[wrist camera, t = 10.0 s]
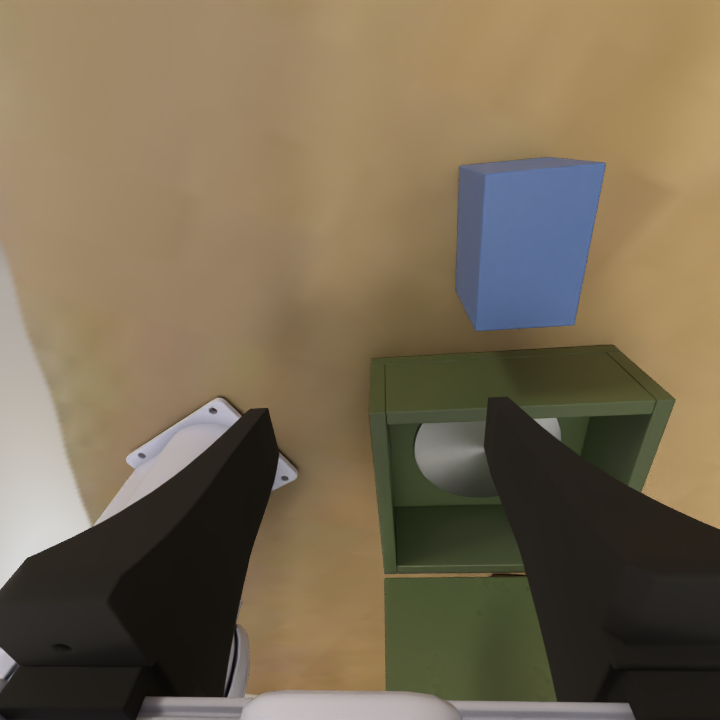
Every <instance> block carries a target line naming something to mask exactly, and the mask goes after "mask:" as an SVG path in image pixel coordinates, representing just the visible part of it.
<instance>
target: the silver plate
mask: <svg viewBox="0 0 720 720" xmlns="http://www.w3.org/2000/svg"><path fill="white" fill-rule="evenodd" d="M534 420H535V421H536V422H537V423H538V424H540V425H541V426H542V427H543V428H544V429H546V430H547V431H548V432H549V433H551V434H552V435H553V436H554V437H556V438H557V439H558V440H559V441H561V428H560V424H559V422H558V419H557V418H543V419H534ZM485 426H486V421H472V422H448V423H424V424H420V425H419V427H418V430H417V432H416V435H415V439H414V454H415V459H416V463H417V465H418V467H419V469H420V471H421V472H422V474H423V475H424V476H425V477H426V478H427V479H428V480H429V481H430V482H431V483H432V484H434V485H435V486H437V487H438V488H440V489H442V490H444V491H446V492H449V493H452V494H455V495H459V496H464V497H472V498H485V497H494V496H498V493H497V490H496V488H495V485H494V482H493V480H492V477H491V474H490V470H489V466H488V463H487V458H486V454H485V450H484V438H485Z"/></svg>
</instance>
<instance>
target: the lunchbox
mask: <svg viewBox="0 0 720 720" xmlns="http://www.w3.org/2000/svg"><path fill="white" fill-rule="evenodd" d="M488 397H509V398H510V399H511V400H512V401H513V402H515V403H516V404H517V405H518V406H519V407H520V408H521V409H522V410H524V411H525V412H526V413H527V414H528V415H529V416H530V417H532V418H533V419H543V418H557V419H558V422H559V424H560V428H561V442H562V443H563V444H565V445H566V446H567V447H569V448H570V449H571V450H573V451H574V452H576V453H577V454H578V455H580V456H581V457H582V458H584V459H585V460H587V461H588V462H590V463H591V464H593V465H594V466H596V467H598V468H599V469H601V470H602V471H604V472H606V473H607V474H609V475H610V476H612V477H614V478H615V479H617V480H619V481H620V482H622V483H624V484H626V485H627V486H629V487H631V488H633V489H635V490H637V491H639V492H640V493H641V491H642V489H643V486H644V483H645V481H646V478H647V475H648V473H649V470H650V467H651V465H652V462H653V459H654V457H655V454H656V451H657V449H658V446H659V443H660V441H661V438H662V435H663V433H664V430H665V427H666V425H667V422H668V419H669V417H670V414H671V411H672V409H673V406H674V403H675V398H673V397H672V396H671V395H670V394H669V393H668V392H667V391H665V390H664V389H663V388H662V387H661V386H660V385H659V384H657V383H656V382H655V381H654V380H653V379H652V378H651V377H649V376H648V375H647V374H646V373H645V372H644V371H643V370H642V369H640V368H639V367H638V366H637V365H636V364H635V363H634V362H632V361H631V360H630V359H629V358H628V357H627V356H626V355H624V354H623V353H622V352H621V351H620V350H619V349H618V348H616V347H615V346H614V345H603V346H586V347H568V348H550V349H532V350H514V351H497V352H479V353H461V354H443V355H425V356H408V357H390V358H372V359H371V372H370V396H369V421H370V431H371V441H372V452H373V462H374V472H375V482H376V493H377V503H378V513H379V523H380V534H381V544H382V554H383V564H384V573H385V574H397V573H398V574H418V573H517V572H525V569H524V565H523V561H522V558H521V554H520V551H519V548H518V545H517V542H516V539H515V537H514V534H513V531H512V529H511V526H510V524H509V521H508V519H507V516H506V513H505V511H504V508H503V506H502V503H501V501H500V498H499V496H494V497H485V498H472V497H464V496H459V495H455V494H452V493H449V492H446V491H444V490H442V489H440V488H438V487H437V486H435V485H434V484H432V483H431V482H430V481H429V480H428V479H427V478H426V477H425V476H424V475H423V474H422V472H421V471H420V469H419V467H418V465H417V463H416V459H415V454H414V439H415V435H416V432H417V430H418V427H419V425H420V424H424V423H448V422H472V421H486V415H487V403H488Z"/></svg>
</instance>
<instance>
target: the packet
mask: <svg viewBox="0 0 720 720" xmlns="http://www.w3.org/2000/svg"><path fill="white" fill-rule="evenodd" d="M605 166H606V163H603V162H593V161H583V160H574V159H564V158H554V157H544V158H534V159H523V160H513V161H502V162H492V163H481V164H471V165H461V166H460V167H459V198H458V229H457V260H456V293H457V295H458V297H459V299H460V301H461V303H462V305H463V307H464V309H465V311H466V313H467V315H468V317H469V319H470V321H471V323H472V325H473V327H474V329H475V331H488V330H504V329H521V328H537V327H554V326H570V325H574V323H575V318H576V313H577V308H578V303H579V298H580V293H581V288H582V283H583V278H584V273H585V268H586V263H587V258H588V252H589V247H590V242H591V237H592V232H593V227H594V222H595V217H596V212H597V207H598V202H599V197H600V192H601V187H602V181H603V176H604V171H605Z"/></svg>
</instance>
